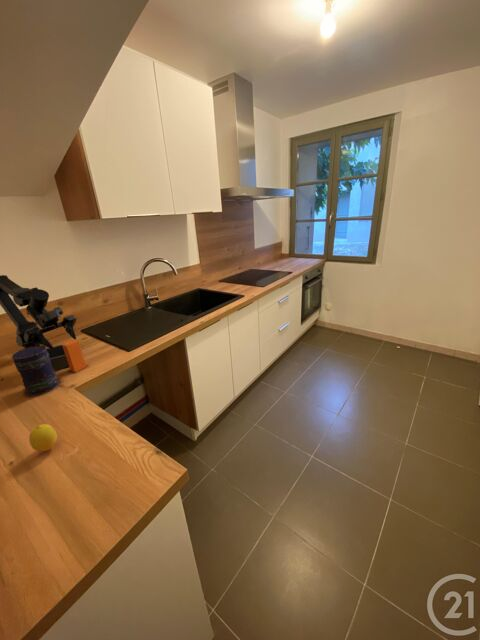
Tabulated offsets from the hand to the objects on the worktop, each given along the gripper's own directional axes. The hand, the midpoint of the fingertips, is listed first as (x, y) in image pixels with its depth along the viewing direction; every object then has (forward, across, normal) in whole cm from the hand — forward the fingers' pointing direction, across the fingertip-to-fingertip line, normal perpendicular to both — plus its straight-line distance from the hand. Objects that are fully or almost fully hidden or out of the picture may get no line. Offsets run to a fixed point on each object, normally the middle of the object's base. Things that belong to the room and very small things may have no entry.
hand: (64, 343), depth 106 cm
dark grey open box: (+2, 0, +14) cm, 14 cm away
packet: (+11, 0, +5) cm, 12 cm away
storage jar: (+11, -14, +5) cm, 18 cm away
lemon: (+35, -30, -19) cm, 49 cm away
